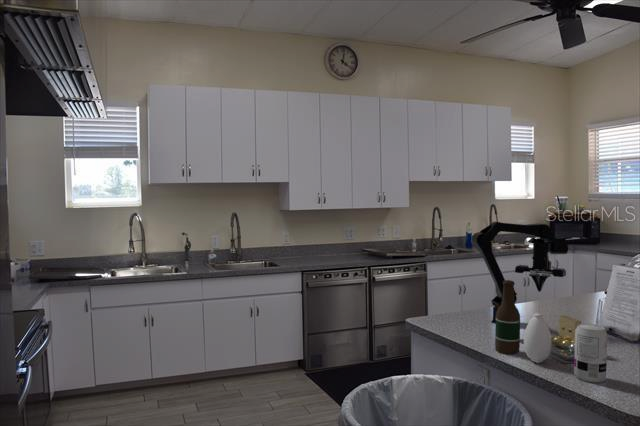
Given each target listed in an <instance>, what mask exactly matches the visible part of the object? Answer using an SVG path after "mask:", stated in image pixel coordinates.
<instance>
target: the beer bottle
mask: <svg viewBox="0 0 640 426" xmlns="http://www.w3.org/2000/svg"><path fill="white" fill-rule="evenodd" d="M503 284H504V287H503V298H502V304H501V305H500V307H499V308H498V310H497V312H496V323H495V331H494V332H495V334H494V337H495V338H494V341H495V342H494V346H495V348H494V349H495V351H496V352H498V353H499V354H503V355H514V354H515V355H517V354H518V353H520V346H521V345H520V344H521V343H520V339H521V313H520V311H519V309H518V307H517V305H516V302H515V301H514V290H515V281H514V280H510V279H508V280H507V279H505V281H503Z"/></svg>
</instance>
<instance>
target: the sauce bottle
mask: <svg viewBox="0 0 640 426" xmlns="http://www.w3.org/2000/svg"><path fill="white" fill-rule="evenodd" d="M543 316H544V315H543V314H542V313H540V306H539V305H537V310H536V313H533V317H531V319H530V320H529V321H528V323H527V326H526V328H525V331H524V335H523V339H524V344H523V348H524V351H525V354H526V355H527V357H528V358H529V359H530V360H531V361H533V362H534V363H535V362H536V363H535V364H540V363H543V362H544V361H545V360H547V359H548V355H549V353H550V350H551V338H552V336H551V331H550V328H549V326H548V323H547V322H546V320H545V318H544V317H543Z"/></svg>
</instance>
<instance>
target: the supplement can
mask: <svg viewBox="0 0 640 426" xmlns="http://www.w3.org/2000/svg"><path fill="white" fill-rule="evenodd" d="M607 357H608V332H607V331H606V328H605V327H604V326H602V325H598V324H592V323H581V324H579V325H578V326H577V328H576V329H575V358H574V365H573V375H574V376H576V378H577V379H579V380H580V381H583V382H588V383H596V384H598V383H602V382H604V381H605V380H607V365H608V364H607V359H608V358H607Z"/></svg>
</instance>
